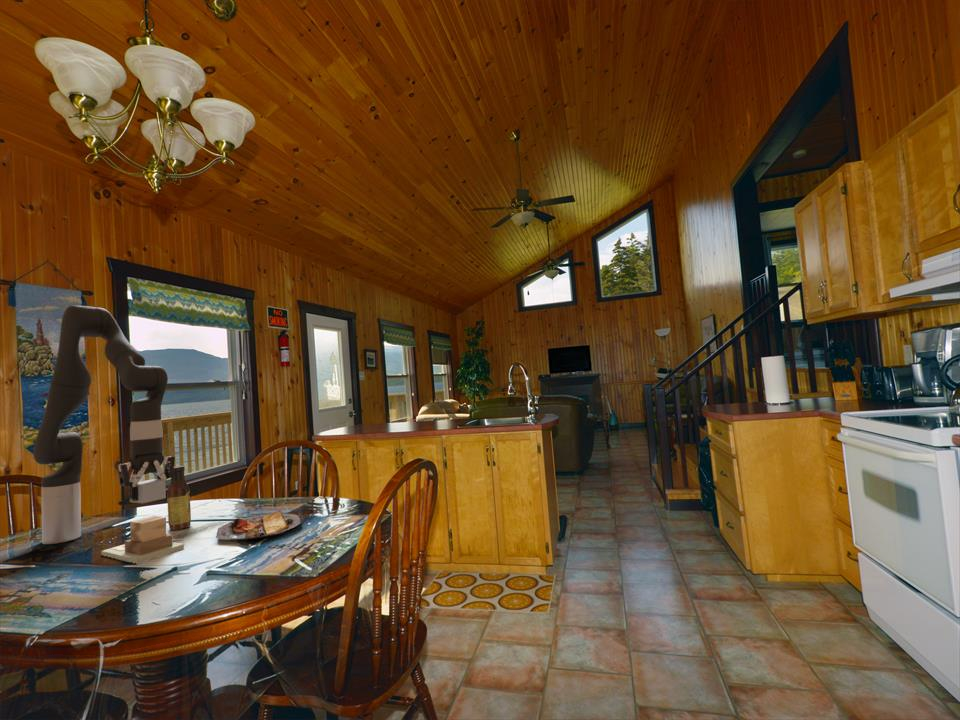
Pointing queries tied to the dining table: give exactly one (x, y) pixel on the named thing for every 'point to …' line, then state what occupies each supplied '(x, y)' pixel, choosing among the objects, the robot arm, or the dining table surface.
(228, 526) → the food plate
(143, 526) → the oak brick
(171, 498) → the sauce bottle
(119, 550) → the build board
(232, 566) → the dining table surface
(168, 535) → the base brick
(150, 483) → the grey brick
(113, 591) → the dining table surface
